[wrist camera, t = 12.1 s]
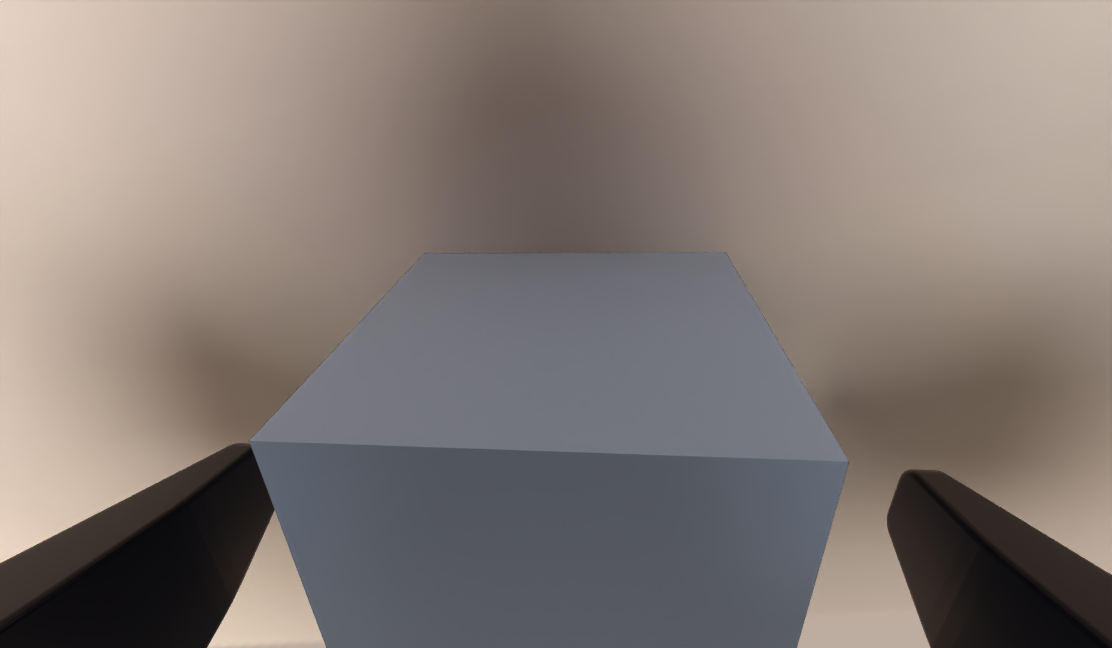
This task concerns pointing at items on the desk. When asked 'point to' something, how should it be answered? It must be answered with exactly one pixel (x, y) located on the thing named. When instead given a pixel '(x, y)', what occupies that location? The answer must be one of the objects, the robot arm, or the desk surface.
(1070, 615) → the robot arm
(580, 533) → the slate blue cube
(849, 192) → the desk surface
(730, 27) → the desk surface
